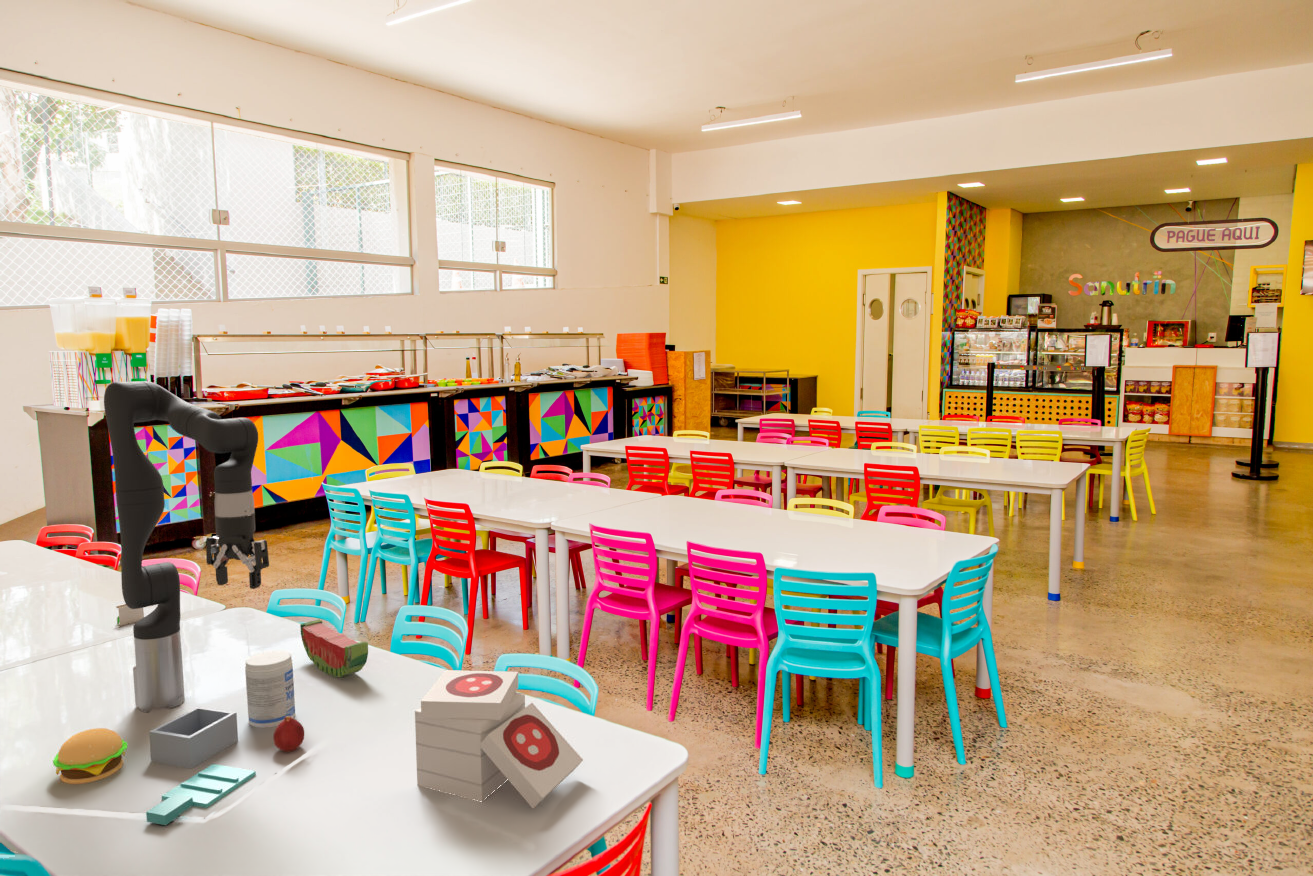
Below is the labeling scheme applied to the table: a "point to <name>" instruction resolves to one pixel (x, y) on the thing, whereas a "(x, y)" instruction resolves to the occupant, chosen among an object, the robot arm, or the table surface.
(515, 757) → the pizza boxes
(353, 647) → the fruit slice
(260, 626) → the table surface
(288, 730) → the red round fruit
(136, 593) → the robot arm
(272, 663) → the supplement tub
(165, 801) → the lid
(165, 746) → the tub
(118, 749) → the hamburger
